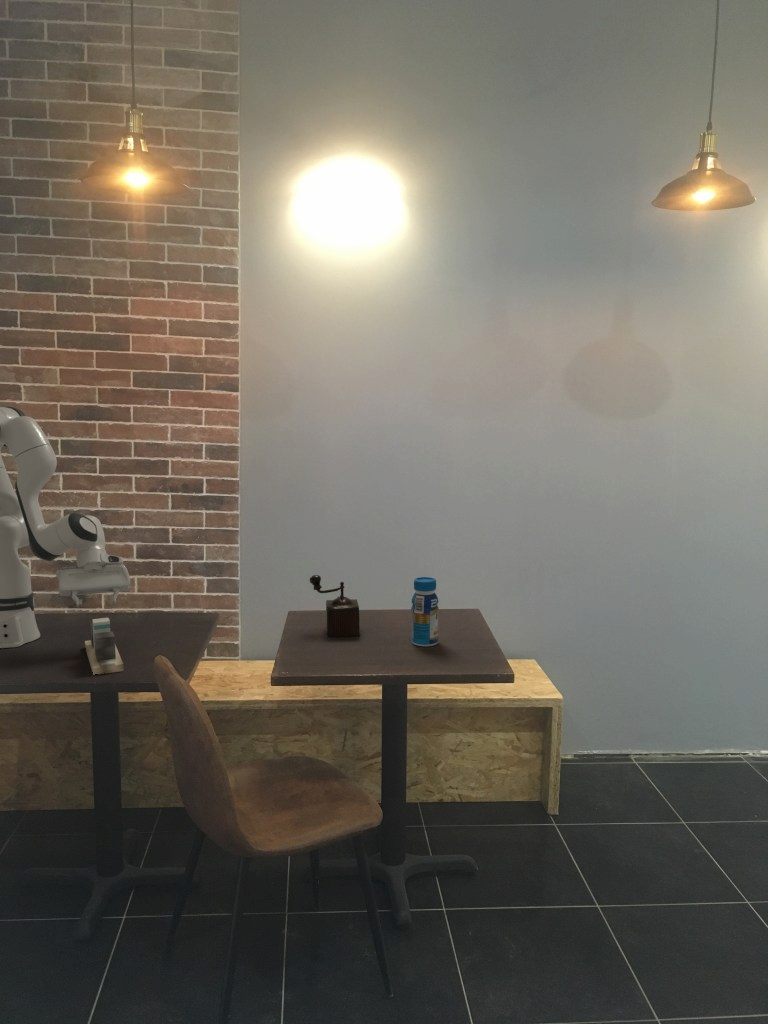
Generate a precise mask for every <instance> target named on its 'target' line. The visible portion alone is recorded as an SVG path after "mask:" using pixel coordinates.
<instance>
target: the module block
mask: <svg viewBox="0 0 768 1024" xmlns="http://www.w3.org/2000/svg"><path fill="white" fill-rule="evenodd" d="M91 621H92V623H93V639H94V634H95V633H103V632H111V621H110V618H109V617H101V618H93V619H92V620H91ZM94 651H95V642H94Z"/></svg>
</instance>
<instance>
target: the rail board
mask: <svg viewBox="0 0 768 1024" xmlns="http://www.w3.org/2000/svg"><path fill="white" fill-rule="evenodd" d="M89 630H90V631H89V632H90V640H85V641H84V649H85V648H86V649H85V652H86V654H87V658H88V663H89V665H90V668H91V672H93V673H92V675H93V676H95V674H98V675H105V674H111V673H117V672H119V673H120V672H124V671H125V670H124V662H123V660H122V658H121V655H120V653H119V650H118V648H117V645H116V637H115V634H114V632H113V631H111V630H110V632H103V633H95V634H94V639H93V623H92V620H90V621H89ZM94 642H95V651H94ZM104 673H105V674H104Z"/></svg>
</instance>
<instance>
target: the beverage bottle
mask: <svg viewBox="0 0 768 1024" xmlns="http://www.w3.org/2000/svg"><path fill="white" fill-rule="evenodd" d="M413 590H414V591H415V592H414V594H413V595H412V597H411V604H412V605H411V607H410V613H411V637H410V638H411V639H410V640H411V643H412V645H415V646H418V647H432V646H433V647H434V646H436V645H437V644H438V643H439V611H440V609H439V606H438V604H439V598H438V596H437V594H436V592H435V591H437V579H436V578H435V577H431V576H430V577H429V576H419V577H415V578H414V580H413Z"/></svg>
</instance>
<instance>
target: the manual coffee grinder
mask: <svg viewBox="0 0 768 1024" xmlns="http://www.w3.org/2000/svg"><path fill="white" fill-rule="evenodd" d="M321 581H322V577H321V575H318V574H313V575H311V576H310V577H309V583H310V584H311V585H312V586H313V590H314V591H317V592H318V594H328V593H333V592H337V591H340V595H339V596H337V597H336V598H335V599H326V601H325V635H326V637H327V638H347V637H348V638H349V637H351V638H352V637H360V636H361V635H360V634H361V633H360V606H359V602H358V599H351V598H349V597H347V596H345V595H344V589H345V582H344V581H340V583H339V585H340V586H339V587H336V588H332V589H327V590H321V589H322V588H323V587H322V585H321Z"/></svg>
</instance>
